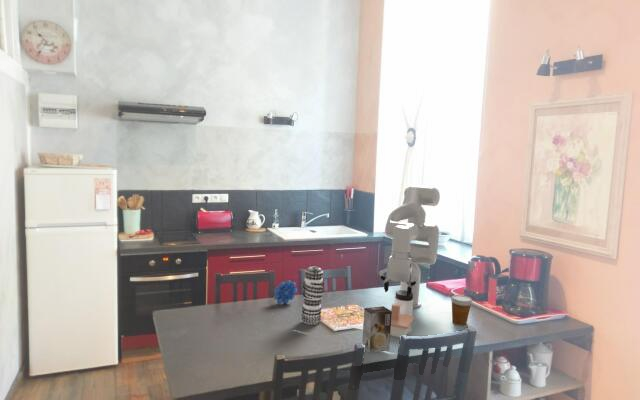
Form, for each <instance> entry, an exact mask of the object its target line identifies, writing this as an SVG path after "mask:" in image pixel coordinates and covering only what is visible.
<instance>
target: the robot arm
mask: <svg viewBox="0 0 640 400" xmlns="http://www.w3.org/2000/svg"><path fill="white" fill-rule="evenodd" d="M404 189H405V190H404V191H403V193H404V194H403V195H404V197H403V201H402V204H401V205H400V206H399V207H397V208H395V209H394V210H392V211H391V212H390V214H389V215H388V218H387V221H386V224H385V228H384V229H385V230H384V233H385V236H386V237H387V238H389V239H392V241H391V255H390V256H389V258H388V262H387V267H386V268H384V269H381V270H379V272H378V274H379V276H380V279H381V280H382V281H383V283H384V284H383V290H384V292H385V293H387V292H388V291H389V286H390V282H389V281H394V282H395V281H396V282H399V283H400V290H404V291H407V296H409V295H410V294H411V292H412V293H413V309H417V308H419V307H421V306H422V302H421V301H420V300H419V297H420V296H419V295H420V287H421V275H422V273H421V268H420V266H419V265H418V264H424V265H430V266H431V265H434V264H435V263H436V261H437V259H438V250H439V249H438V248H439V238H440V229H439V226H438V225H436V224H434V223H428V222H426V210H425V208H424V207H423V206H427V207H428V206H429V207H436V206H437V205H438V204H439V203H440V199H441V197H440V196H441V195H440V191H439V189H437V188H436V187H434V186H427V185H410V186H408V187H405V188H404ZM404 220H407V222H404ZM412 241H415V242H422V243H423V242H424V243H427V244H422V243H415V242H412ZM384 274H386V275H384Z"/></svg>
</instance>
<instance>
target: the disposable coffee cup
mask: <svg viewBox="0 0 640 400" xmlns="http://www.w3.org/2000/svg"><path fill="white" fill-rule="evenodd" d="M450 301H451V314H452V315H451V317H452V320H451V321H452V323H453V324H454V325H457V326H467V323H468V319H469V314H470V310H471V306H472V304H473V301H472V298H471V297H469V296H466V295H462V294H461V295H460V294H455V295H454V294H453V295H452V296H451V298H450Z"/></svg>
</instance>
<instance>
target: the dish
mask: <svg viewBox="0 0 640 400" xmlns="http://www.w3.org/2000/svg"><path fill="white" fill-rule="evenodd" d="M411 330H412V324H411V325H410V326H409V327H408V329H403V328H398V327H394V326H391V330H390V336H393V337H397V338H401V337H400V336H401V335H407V336H408V335H409V334H410V332H411Z"/></svg>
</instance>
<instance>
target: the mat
mask: <svg viewBox="0 0 640 400" xmlns="http://www.w3.org/2000/svg"><path fill="white" fill-rule="evenodd" d="M347 328H352V329H357V330H361V331H363V325H362V326H348V327H347Z"/></svg>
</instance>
